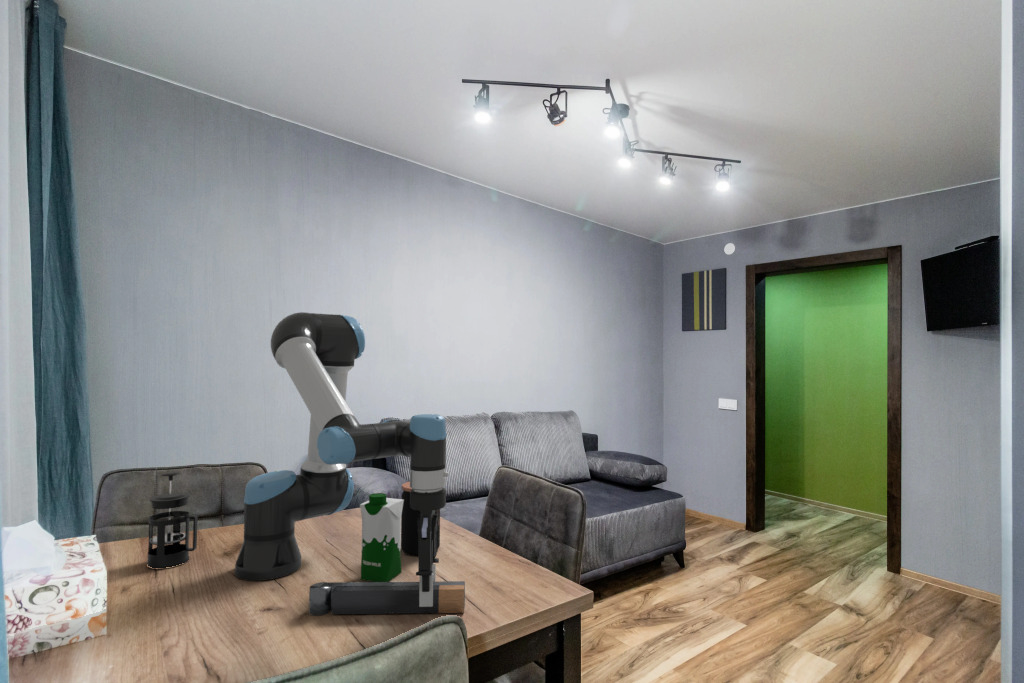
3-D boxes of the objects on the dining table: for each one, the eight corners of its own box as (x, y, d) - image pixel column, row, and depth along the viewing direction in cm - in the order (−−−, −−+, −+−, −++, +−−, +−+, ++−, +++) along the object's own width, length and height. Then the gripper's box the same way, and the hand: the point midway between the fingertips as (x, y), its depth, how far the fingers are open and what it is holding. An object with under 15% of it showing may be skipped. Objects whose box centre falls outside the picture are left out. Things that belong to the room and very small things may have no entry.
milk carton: (354, 580, 128) (356, 495, 129) (376, 567, 136) (377, 487, 137) (387, 586, 125) (388, 499, 126) (406, 571, 134) (407, 490, 134)
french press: (135, 570, 133) (138, 477, 134) (154, 557, 142) (157, 469, 143) (187, 568, 135) (189, 475, 136) (202, 554, 144) (204, 468, 145)
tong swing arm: (331, 614, 110) (332, 590, 110) (334, 609, 112) (334, 586, 113) (463, 612, 111) (464, 589, 112) (464, 608, 113) (464, 585, 114)
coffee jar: (436, 557, 144) (437, 489, 144) (396, 556, 144) (397, 488, 144) (442, 543, 154) (443, 480, 155) (405, 543, 154) (406, 480, 155)
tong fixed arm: (306, 615, 110) (306, 591, 110) (313, 606, 115) (313, 582, 115) (463, 614, 111) (464, 589, 112) (464, 604, 116) (465, 580, 116)
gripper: (442, 498, 106) (441, 619, 105) (448, 479, 123) (448, 583, 122) (403, 498, 105) (402, 620, 105) (415, 479, 123) (415, 584, 122)
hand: (427, 600), depth 113 cm, fingers open, 4 cm apart
